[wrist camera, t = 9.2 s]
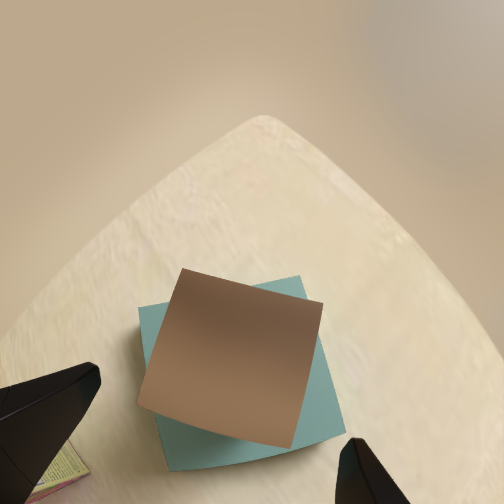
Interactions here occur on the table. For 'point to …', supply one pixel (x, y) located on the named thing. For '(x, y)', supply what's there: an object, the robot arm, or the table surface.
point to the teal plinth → (232, 449)
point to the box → (59, 473)
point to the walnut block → (232, 359)
